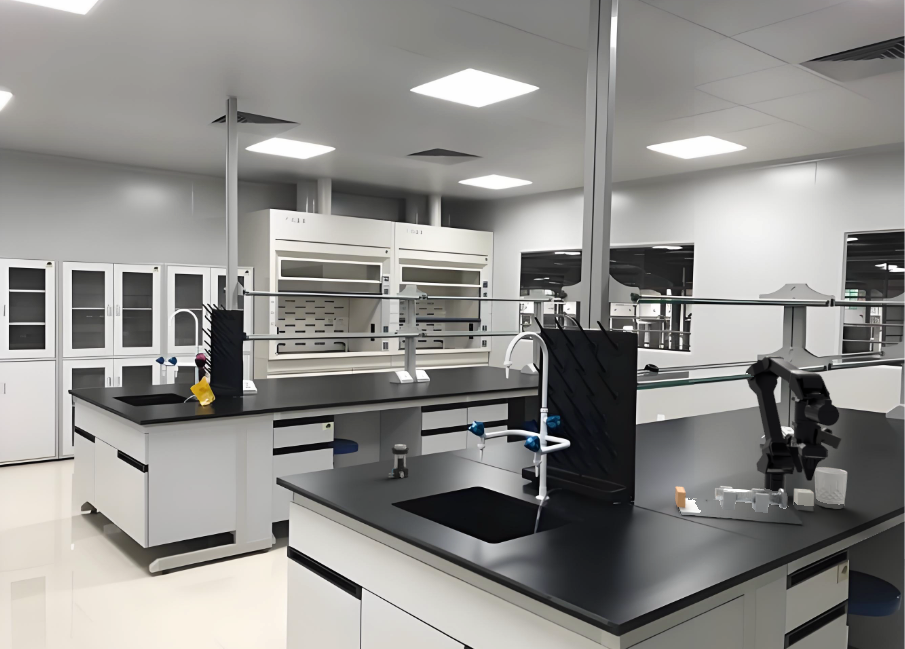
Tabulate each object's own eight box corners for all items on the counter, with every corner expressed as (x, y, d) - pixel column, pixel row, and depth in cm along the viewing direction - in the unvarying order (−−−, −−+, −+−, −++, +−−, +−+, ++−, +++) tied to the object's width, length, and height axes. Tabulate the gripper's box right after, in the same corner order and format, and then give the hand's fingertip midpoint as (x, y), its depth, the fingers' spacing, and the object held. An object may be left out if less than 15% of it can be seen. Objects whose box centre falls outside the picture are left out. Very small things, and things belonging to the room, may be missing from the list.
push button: (392, 480, 204) (393, 448, 204) (384, 476, 209) (384, 444, 209) (411, 477, 208) (412, 445, 208) (402, 474, 213) (403, 442, 212)
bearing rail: (673, 500, 188) (674, 479, 188) (787, 509, 181) (788, 487, 181) (678, 515, 174) (679, 492, 174) (802, 525, 168) (802, 501, 168)
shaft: (714, 500, 181) (714, 482, 181) (782, 505, 178) (782, 486, 177) (717, 505, 177) (717, 486, 176) (787, 511, 173) (787, 491, 173)
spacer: (793, 506, 185) (794, 488, 185) (809, 507, 184) (809, 489, 184) (797, 510, 181) (798, 492, 181) (813, 511, 180) (814, 493, 180)
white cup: (846, 505, 187) (847, 469, 187) (846, 512, 180) (847, 475, 180) (814, 500, 191) (815, 465, 191) (813, 507, 184) (814, 471, 184)
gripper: (850, 426, 171) (848, 487, 171) (827, 415, 189) (825, 470, 190) (803, 424, 174) (801, 484, 174) (784, 413, 192) (783, 467, 192)
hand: (804, 476), depth 182 cm, fingers open, 9 cm apart
